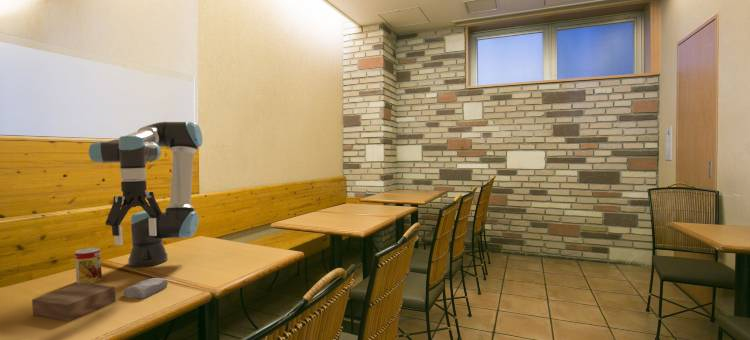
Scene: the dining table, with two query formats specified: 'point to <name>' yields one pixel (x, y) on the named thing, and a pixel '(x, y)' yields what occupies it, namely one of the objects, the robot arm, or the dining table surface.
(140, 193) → the robot arm
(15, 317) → the dining table surface
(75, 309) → the walnut plinth
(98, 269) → the canned food
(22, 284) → the dining table surface
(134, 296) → the stone block
